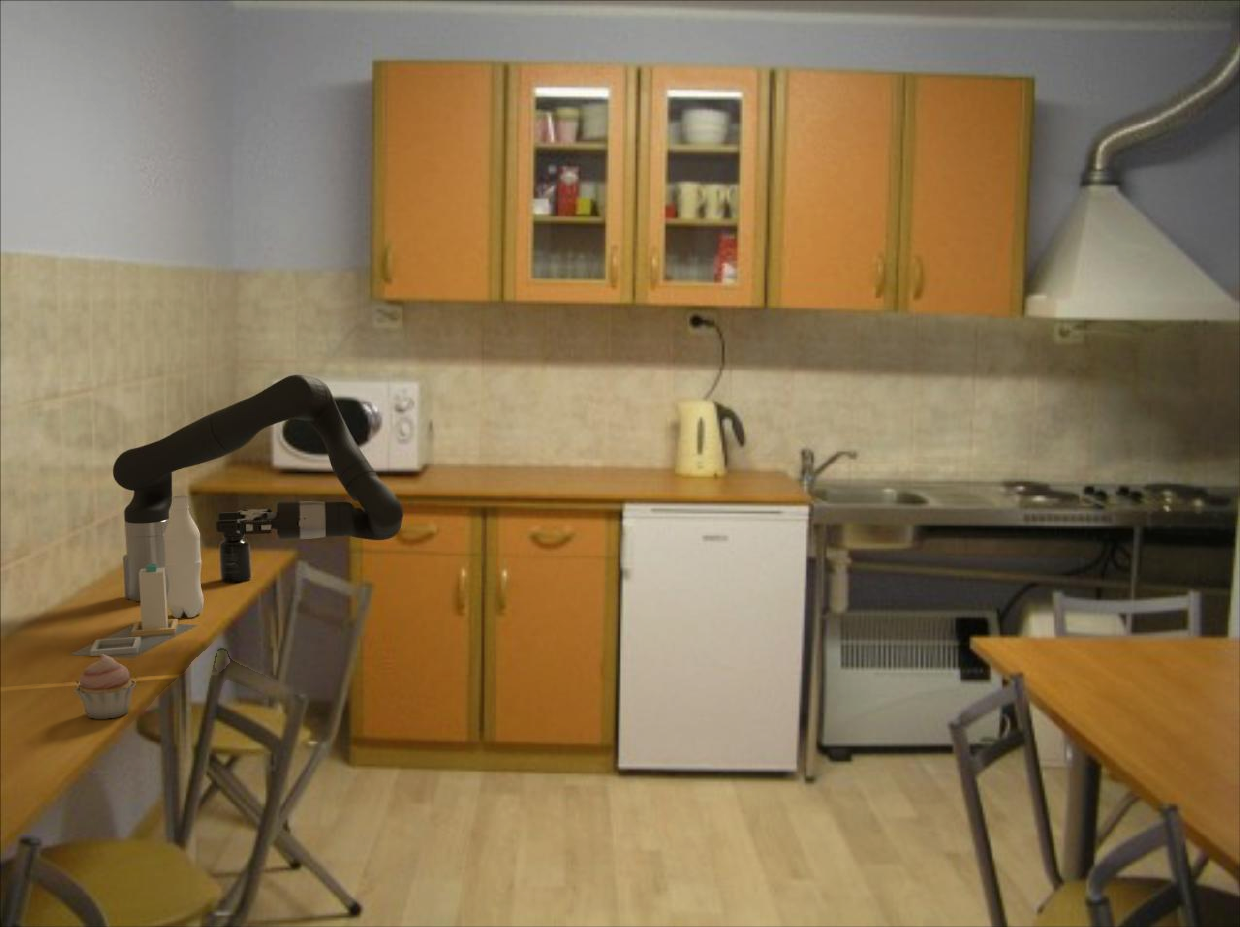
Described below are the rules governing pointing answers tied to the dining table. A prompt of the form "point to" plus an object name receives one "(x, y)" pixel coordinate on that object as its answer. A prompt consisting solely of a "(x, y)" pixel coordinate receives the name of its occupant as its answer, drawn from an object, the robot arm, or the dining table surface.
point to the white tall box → (153, 597)
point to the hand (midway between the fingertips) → (217, 522)
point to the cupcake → (105, 689)
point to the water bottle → (183, 561)
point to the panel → (134, 640)
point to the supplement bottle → (234, 558)
